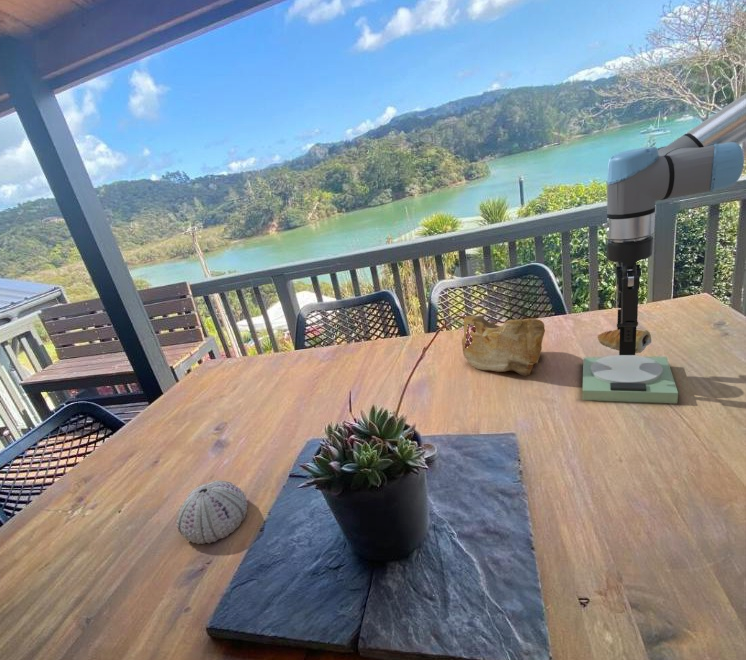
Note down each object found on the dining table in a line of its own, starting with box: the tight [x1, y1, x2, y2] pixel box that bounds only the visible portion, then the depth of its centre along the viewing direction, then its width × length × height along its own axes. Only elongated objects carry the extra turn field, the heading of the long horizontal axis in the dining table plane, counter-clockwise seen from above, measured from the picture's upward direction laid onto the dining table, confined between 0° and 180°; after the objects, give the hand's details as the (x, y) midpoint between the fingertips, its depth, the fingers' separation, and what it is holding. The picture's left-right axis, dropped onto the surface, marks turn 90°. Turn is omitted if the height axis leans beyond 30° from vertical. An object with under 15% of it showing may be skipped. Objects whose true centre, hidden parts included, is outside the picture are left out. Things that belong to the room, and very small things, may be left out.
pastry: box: [597, 329, 653, 354], centre depth 92 cm, size 9×7×4 cm
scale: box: [582, 354, 679, 404], centre depth 94 cm, size 16×16×4 cm
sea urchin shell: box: [175, 480, 248, 545], centre depth 82 cm, size 13×14×8 cm
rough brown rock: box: [461, 314, 546, 377], centre depth 112 cm, size 23×17×15 cm
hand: (625, 345), depth 92 cm, fingers closed on pastry, 8 cm apart
